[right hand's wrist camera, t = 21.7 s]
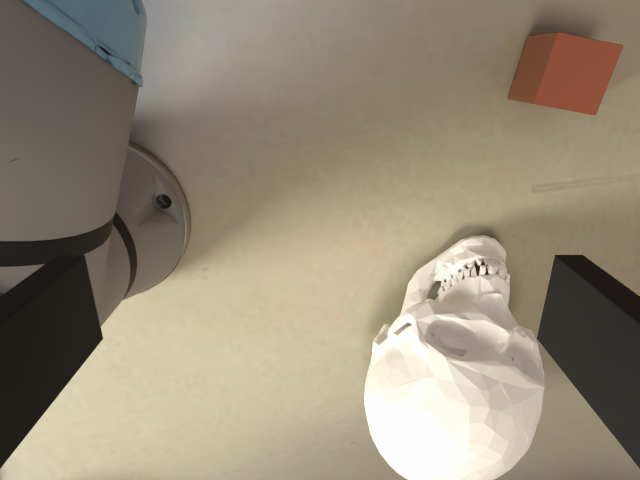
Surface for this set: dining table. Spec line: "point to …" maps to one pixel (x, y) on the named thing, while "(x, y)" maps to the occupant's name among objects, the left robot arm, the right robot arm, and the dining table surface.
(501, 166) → the dining table surface
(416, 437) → the skull
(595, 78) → the terracotta block
